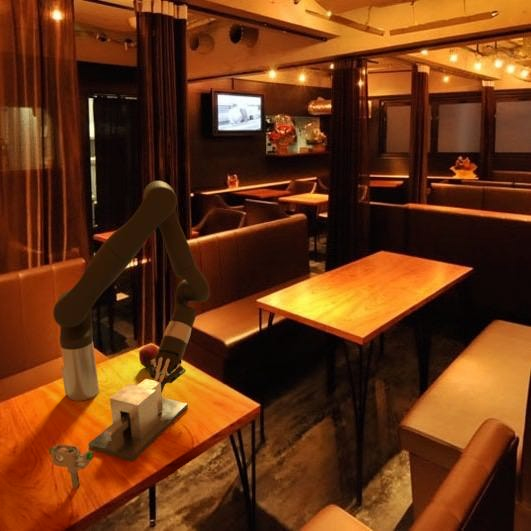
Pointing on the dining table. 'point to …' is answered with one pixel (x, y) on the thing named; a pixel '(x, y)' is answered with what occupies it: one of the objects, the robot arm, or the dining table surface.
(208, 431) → the dining table surface
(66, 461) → the mechanical component
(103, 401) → the dining table surface
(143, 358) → the fruit
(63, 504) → the dining table surface
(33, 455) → the dining table surface
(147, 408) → the shaft housing
